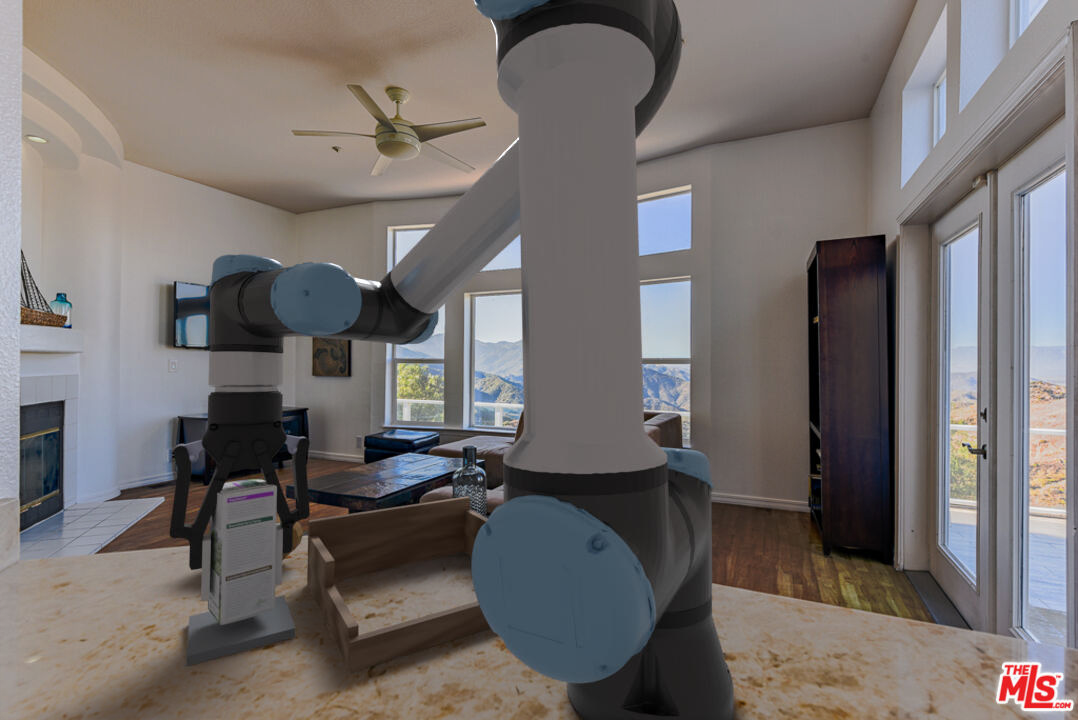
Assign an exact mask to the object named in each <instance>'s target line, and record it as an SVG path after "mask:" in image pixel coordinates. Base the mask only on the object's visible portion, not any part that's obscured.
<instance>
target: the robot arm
mask: <svg viewBox="0 0 1078 720" xmlns="http://www.w3.org/2000/svg"><path fill="white" fill-rule="evenodd" d="M473 2H474V5H475V8H476V9H477V12H479V13H480V15H482V16H483V17H485V18H486V19H488V20H490V21H491V23H492V26H493V28H494V32H495V40H496V41H495V43H496V46H495V47H496V48H495V49H496V85H497V90H498V94H499V97H500V98H501V100H502V101H503V102H504V103H505V105H506V106H507V107H508V108H510V110H512V112H514V113H515V114H517V118H518V119H517V120H518V121H517V122H518V125H517V126H518V128H517V129H518V131H517V132H518V137H517V138H516V139H515V141H514V142H513V143H512V144H510V145H509V147H508V148H507V149H505V151H503V153H502V154H501V155H500V156H499V157H498V158H497V159H496V160H495V161H494V162H493V163H492V164H491V165H490V166H489V167H488V169H487V170H486V171H485V172H484V173H483V174H482V175H481V176H480V177H479V178H478V179H477V180H476V181H475V183H473V185H471V186H470V187H469V188H468V190H467V191H465V193H464V194H463V195H462V196H460V198H459V199H458V200H457V201H456V202H455V203H454V204H453V205H452V206H451V207H450V209H448V210H447V212H445V214H444V215H443V216H441V218H440V219H439V220H438V221H437V222H435V224H434V225H433V226H432V227H431V228H430V229H429V230H428V231H427V232H426V233H425V234H424V236H422V238H421V239H420V240H419V241H418V242H417V243H416V244H414V246H413V247H412V248H410V250H409V251H408V252H407V253H406V254H405V255H404V256H403V257H402V258H401V259H400V261H398V263H397V264H396V265H395V266H394V267H393V268H392V269H391V270H390V271H388V272H387V273H386V274H385V276H384V277H383V278H382V279H381V280H379V281H374V280H368V279H365V278H358V277H354V276H352V275H351V274H350V273H349V272H348V271H346V269H344V268H343V267H342V266H340V265H338V264H334V263H332V262H312V261H310V262H301V263H297V264H294V265H292V266H287V267H284V265H283V264H282V263H281V262H279V261H278V260H276V259H273V258H270V257H266V256H260V255H254V254H253V255H252V254H245V253H241V254H225V255H224V254H223V255H221V256H218V257H217V258H216V259H214V261H213V263H212V273H211V280H210V281H211V282H210V284H209V288H208V289H209V290H208V291H209V295H210V297H209V299H210V300H209V301H210V302H209V304H210V305H209V307H210V308H209V310H210V311H209V315H210V316H209V353H208V357H209V358H208V386H209V387H212V388H214V391H211V392H210V394H208V395H207V424H206V425H207V429H206V431H205V432H204V434H203V436H202V439H200V440H195V441H192V442H188V443H178V444H177V445H175V447H174V449H173V455H174V459H175V460H174V461H176V462H175V463H176V465H177V476H176V482H175V488H174V489H175V491H174V497H173V504H172V513H171V519H170V526H169V527H170V528H169V533H168V534H169V537H170V538H172V539H178V538H179V539H185V540H187V541H188V543H189V557H188V558H189V561H188V566H189V569H190V570H191V571H195V570H200V569H201V589H200V590H201V591H200V602H206V601H208V600H209V593H210V554H211V534H206V531H207V529H208V526H209V524H210V518H211V515H212V513H213V511H214V508H215V506H216V503H217V493H220V491H222V489H223V486H224V484H225V483H226V481H227V479H228V477H229V475H230V472H238V471H239V472H240V471H242V470H245V469H248V470H261V473H262V475H263V478H264V481H266V483H267V484H269V485H276V486H277V515H278V516H279V518H280V523H279V524H276V586H280V585H283V560H282V554H284V553H289V552H291V550H292V545H293V526H294V524H295V523H296V522H298V523H299V521H301V520H306V519H308V518H309V517H310V515H311V511H310V499H309V498H310V497H309V496H310V495H309V483H308V473H307V471H308V470H307V461H306V459H307V455H308V451H309V448H310V443H311V441H310V439H308V438H307V437H305V436H303V435H302V436H301V435H300V436H294V435H289V434H287V433H286V431H285V429H284V428H283V404H284V403H283V402H284V401H283V400H284V399H283V397H284V396H283V393H281V391H279V389H278V387H282V386H283V384H284V344H285V343H284V342H285V341H284V340H285V339H284V338H291V337H292V338H293V337H303V338H304V337H307V338H318V339H319V338H322V339H333V340H348V341H349V340H350V341H362V342H369V343H370V342H372V343H380V344H392V345H398V346H404V345H410V344H411V345H417V344H421V343H425V342H426V341H428V340H429V339H430V338H431V337H432V336H433V334H434V332H435V329H436V326H438V323H439V319H440V318H439V316H440V315H439V310H440V309H441V308H442V307H444V306H445V304H446V303H448V302H449V301H450V300H451V299H452V298H453V297H454V296H455V295H456V294H457V293H458V292H459V291H461V289H463V288H464V287H465V286H466V285H467V284H468V283H470V281H471V280H472V279H474V278H475V276H477V275H478V274H479V273H480V272H481V271H482V270H483V269H484V268H486V266H488V265H489V264H490V263H491V262H493V260H494V259H495V258H496V257H497V256H498V255H500V254H501V253H502V252H503V251H504V250H505V249H506V248H507V247H508V246H509V245H511V243H513V242H514V241H515V240H516V239H517V238H518V237H519V238H520V276H521V277H520V282H521V283H520V285H521V324H522V325H521V338H522V341H521V342H522V384H523V385H522V389H523V390H522V391H523V398H522V399H523V429H522V433H521V435H520V437H519V438H518V439H517V440H516V441H515V442H514V443H513V444H512V446H510V447H509V449H507V450H506V452H505V453H504V454H503V457H502V459H503V460H502V476H503V477H502V478H503V479H502V480H503V481H502V482H503V483H502V484H503V485H502V486H503V487H502V489H503V494H502V495H503V503H502V504H499V505H498V506H496V507H495V508H494V510H493V511H492V512H491V513H490V515H489V516H488V517H487V518H488V520H487V521H486V523H485V524H484V525H483V526H482V527H481V528H480V530H479V532H478V534H477V536H476V539H475V542H474V546H473V551H472V557H471V579H472V585H473V588H474V593H475V596H476V599H477V600H476V601H478V603H479V605H480V608H481V610H482V612H483V615H484V617H485V618H486V620H487V622H488V624H489V626H490V627H491V628H490V629H491V630H492V632H493V633H495V634H496V635H497V636H498V637H500V638H501V640H502V641H503V643H504V645H505V647H506V649H507V650H508V651H509V652H510V653H511V655H513V656H514V657H515V658H516V659H517V660H519V661H520V662H521V663H523V664H524V665H525V666H527V667H528V668H530V669H531V670H532V671H535V672H537V673H538V674H540V675H543V676H544V677H547V678H549V679H553V680H556V681H558V682H564V683H566V685H567V687H566V688H567V694H568V698H569V700H570V702H571V704H572V706H573V708H574V709H575V710H576V712H577V713H578V715H580V717H581V718H582V719H583V720H733V718H734V713H735V712H734V711H735V702H734V701H735V698H734V697H735V696H734V695H735V693H734V692H735V691H734V682H733V676H732V674H731V670H730V668H729V666H728V664H727V662H726V660H725V655H724V652H723V649H722V648H723V647H722V644H721V642H720V638H719V634H718V631H717V627H716V625H715V621H714V618H713V561H712V560H713V554H712V553H713V552H712V551H713V550H712V549H713V547H712V546H713V541H712V539H713V538H712V537H713V536H712V534H713V533H712V532H713V531H712V528H713V527H712V526H713V525H712V492H713V490H714V487H715V486H714V482H713V480H712V473H711V464H710V460H709V458H708V457H707V455H706V454H705V453H703V452H701V451H700V450H694V449H684V448H673V447H662V446H659V445H658V443H656V442H655V441H654V440H653V439H652V438H651V437H650V436H649V435H648V434H647V432H646V430H645V416H644V415H645V414H644V413H645V411H644V407H645V404H644V380H643V379H644V377H643V376H644V374H643V349H642V348H643V343H642V341H643V340H642V339H643V338H642V314H641V313H642V309H641V306H642V305H641V279H640V277H641V276H640V273H641V272H640V271H641V270H640V241H639V237H640V235H639V209H638V207H639V204H638V178H637V177H638V175H637V174H638V173H637V172H638V171H637V146H636V145H637V144H636V143H637V141H636V140H637V138H639V136H640V135H641V134H642V133H643V131H644V130H645V129H646V128H647V127H648V125H649V124H650V123H651V122H652V120H653V118H654V117H655V116H656V115H657V113H658V111H660V109H661V107H662V106H663V104H664V102H665V100H666V98H667V96H668V95H669V93H670V91H671V89H672V86H673V84H674V80H675V79H676V76H677V72H678V69H679V66H680V61H681V58H682V57H681V56H682V46H683V42H682V41H683V40H682V39H683V38H682V37H683V35H682V23H681V20H680V16H679V11H678V8H677V6H676V3H675V0H473ZM284 444H285V445H286V446H287V451H288V453H290V454H291V463H292V465H291V466H292V473H293V474H292V475H293V487H294V503H295V508H294V509H291V510H290V506H289V504H288V502H287V498H286V497H285V493H284V491H283V488H282V485H281V483H280V481H279V478H278V475H277V472H276V469H275V466H274V463H273V458H274V457H275V455H277V453H279V451H280V449H281V448H282V447H283V446H284ZM202 450H205V451H206V452H207V453H208V455H209V456H211V457H212V460H214V461H215V462H216V464H217V465H216V467H215V469H214V472H213V474H212V477H211V480H210V482H209V485H208V486H207V489H206V492H205V494H204V496H203V499H202V502H201V504H200V506H199V508H198V511H197V514H196V516H195V518H194V521H193V523H192V524H191V523H186V514H187V509H188V507H187V506H188V501H189V493H190V483H191V477H192V470H193V463H194V462H197V461H198V460H199V456H200V455H199V454H200V453H201V451H202ZM291 553H292V552H291Z"/></svg>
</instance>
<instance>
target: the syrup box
mask: <svg viewBox="0 0 1078 720" xmlns="http://www.w3.org/2000/svg"><path fill="white" fill-rule="evenodd" d="M277 515H278V513H277V486H276V485H269V484H267V483H266V481H265V479H262V478H254V479H253V478H252V479H251V478H250V479H241V480H235V481H228V482H225V484H224V486H223V489H222V491H220V493H217V503H216V506H215V508H214V511H213V513H212V515H211V518H210V520H209V526H210V534H211V554H210V593H209V600H207V610H208V612H211V613H212V615H213V616H214V617H215V619H216V620H217V621H218V623H219V624H220V625H224V624H229V623H232V622H236V621H240V620H243V619H247V618H250V617H253V616H256V615H259V614H262V613H265V612H268V611H271V610H274V609H275V597H276V519H277Z"/></svg>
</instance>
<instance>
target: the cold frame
mask: <svg viewBox="0 0 1078 720" xmlns="http://www.w3.org/2000/svg"><path fill="white" fill-rule="evenodd" d="M488 518H489V517H487V516H484V515H483V514H480V513H478V512H476V511H474V510H472V509H471V497H470V496H462V497H457V498H456V497H455V498H449V499H442V500H435V501H427V502H422V503H421V502H420V503H414V504H407V505H401V506H394V507H388V508H380V509H375V510H367V511H361V512H354V513H348V514H342V515H341V514H340V515H334V516H327V517H321V518H315V519H314V518H313V519H309V520H308V521H307V524H308V525H307V564H306V565H307V566H306V567H307V572H306V573H307V574H306V577H307V578H306V581H307V582H306V584H307V587H308V590H309V592H310V593H311V595H312V597H313V599H314V602H315V604H316V606H317V607H318V610H319V612H320V614H321V616H322V618H323V619H324V620H323V621H324V622H325V624H326V626H327V628H328V631H329V632H330V634H331V636H332V638H333V641H334V642H335V645H336V647H337V649H338V651H339V653H340V655H341V657H342V660H343V661H344V664H345V666H346V668H347V670H348V672H349V673H350V674H352V673H355V672H356V673H357V672H359V671H362V670H364V669H368V668H371V667H374V666H377V665H380V664H383V663H386V662H390V661H391V660H395V659H399V658H401V657H404V656H408V655H410V654H414V653H417V652H420V651H423V650H427V649H428V648H432V647H436V646H438V645H441V644H444V643H448V642H450V641H455V640H457V639H460V638H462V637H466V636H469V635H472V634H475V633H477V632H481V631H485V630H487V629H491V627H490V626H489V624H488V622H487V620H486V618H485V617H484V615H483V612H482V610H481V608H480V605H479V603H478V600H476V601H474V602H473V601H472V602H469V603H467V604H463V605H459V606H456V607H452V608H449V609H448V608H447V609H446V610H442V611H438V612H435V613H432V614H428V615H425V616H421V617H417V618H414V619H411V620H406V621H404V622H403V621H402V622H399V623H397V624H393V625H389V626H385V627H383V628H380V629H379V628H378V629H375V630H372V631H368V632H364V633H362V634H359V627H360V626H359V623H358V622H357V620H356V619H355V617H354V615H353V613H352V612H351V610H350V608H349V607H348V605H347V603H346V602H345V600H344V599H343V597H342V596H341V594H340V592H339V590H338V589H337V587H336V586H335V582H336V581H340V580H346V579H350V578H355V577H359V576H363V575H368V574H373V573H378V572H382V571H385V570H386V571H387V570H391V569H396V568H400V567H405V566H410V565H415V564H418V563H423V562H428V561H432V560H438V559H441V558H445V557H449V556H451V557H452V556H455V555H460V554H463V553H465V554H466V555H467V554H468V556H469V557H470V556H471V557H470V558H472V551H473V546H474V542H475V539H476V536H477V534H478V532H479V530H480V528H481V527H482V526H483V525H484V524H485V523H486V521H487V520H488Z"/></svg>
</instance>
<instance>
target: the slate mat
mask: <svg viewBox="0 0 1078 720" xmlns="http://www.w3.org/2000/svg"><path fill="white" fill-rule="evenodd" d="M293 638H296V626H295V622H294V620H293V616H292V615H291V611H290V608H289V607H288V603H287V600H286V597H285V594H282V595H278V596H275V609H274V610H271V611H268V612H265V613H262V614H259V615H256V616H253V617H250V618H247V619H243V620H240V621H236V622H232V623H229V624H224V625H220V624H219V623H218V621H217V620H216V619H215V617H214V616H213V615H212V613H211V612H210V611H206V612H201V613H198V614H193V615H189V617H188V632H187V643H186V644H187V645H186V647H187V648H186V667H188V666H192V665H193V666H194V665H197V664H200V663H204V662H208V661H211V660H214V659H218V658H222V657H226V656H230V655H234V654H238V653H241V652H244V651H248V650H252V649H256V648H260V647H263V646H266V645H270V644H274V643H277V642H282V641H285V640H289V639H293Z"/></svg>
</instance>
